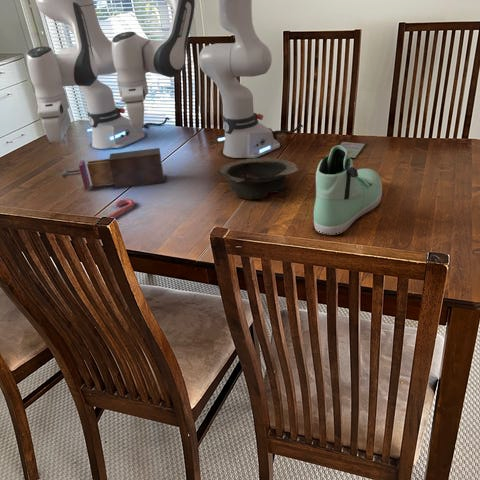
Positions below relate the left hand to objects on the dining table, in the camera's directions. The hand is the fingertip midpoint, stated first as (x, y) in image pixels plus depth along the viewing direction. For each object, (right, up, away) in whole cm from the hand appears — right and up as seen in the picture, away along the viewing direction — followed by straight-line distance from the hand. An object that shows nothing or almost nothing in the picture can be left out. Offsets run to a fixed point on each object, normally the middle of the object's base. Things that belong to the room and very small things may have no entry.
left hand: (64, 146), depth 155 cm
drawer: (+9, -11, +8) cm, 17 cm away
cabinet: (+22, -10, +10) cm, 27 cm away
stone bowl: (+63, -14, -1) cm, 64 cm away
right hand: (+24, +5, +2) cm, 25 cm away
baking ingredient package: (+97, +3, +22) cm, 99 cm away
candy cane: (+19, -22, -9) cm, 31 cm away
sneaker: (+88, -21, -16) cm, 92 cm away
